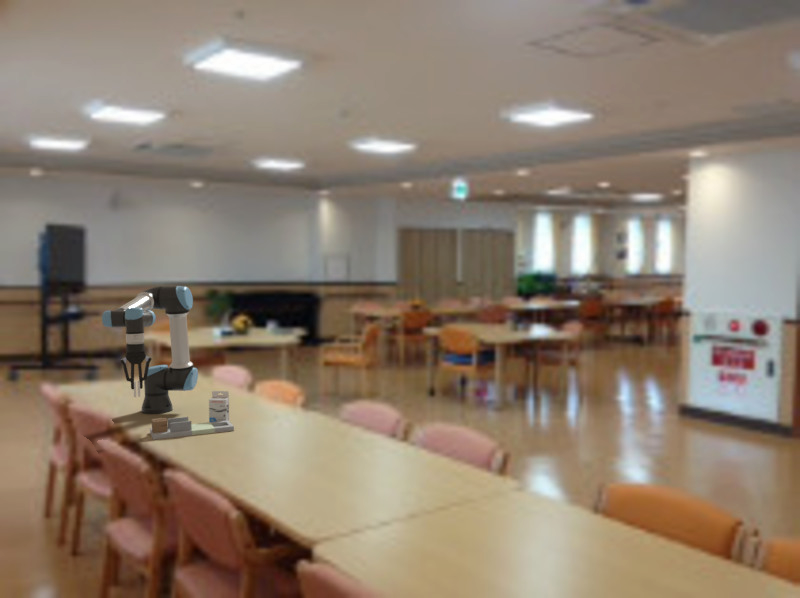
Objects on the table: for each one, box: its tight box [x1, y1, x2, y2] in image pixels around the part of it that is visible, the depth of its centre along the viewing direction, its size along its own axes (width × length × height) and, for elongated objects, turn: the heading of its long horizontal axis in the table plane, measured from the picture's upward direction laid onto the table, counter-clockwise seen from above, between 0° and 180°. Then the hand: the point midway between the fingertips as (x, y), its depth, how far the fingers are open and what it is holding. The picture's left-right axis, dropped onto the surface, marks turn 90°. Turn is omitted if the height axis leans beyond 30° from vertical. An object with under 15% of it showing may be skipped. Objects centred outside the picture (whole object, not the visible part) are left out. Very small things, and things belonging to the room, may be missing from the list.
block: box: [151, 417, 168, 433], centre depth 321 cm, size 6×6×5 cm
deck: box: [149, 416, 235, 440], centre depth 327 cm, size 13×35×6 cm, turn 115°
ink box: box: [208, 390, 230, 422], centre depth 344 cm, size 9×5×15 cm, turn 84°
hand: (137, 396), depth 317 cm, fingers closed
